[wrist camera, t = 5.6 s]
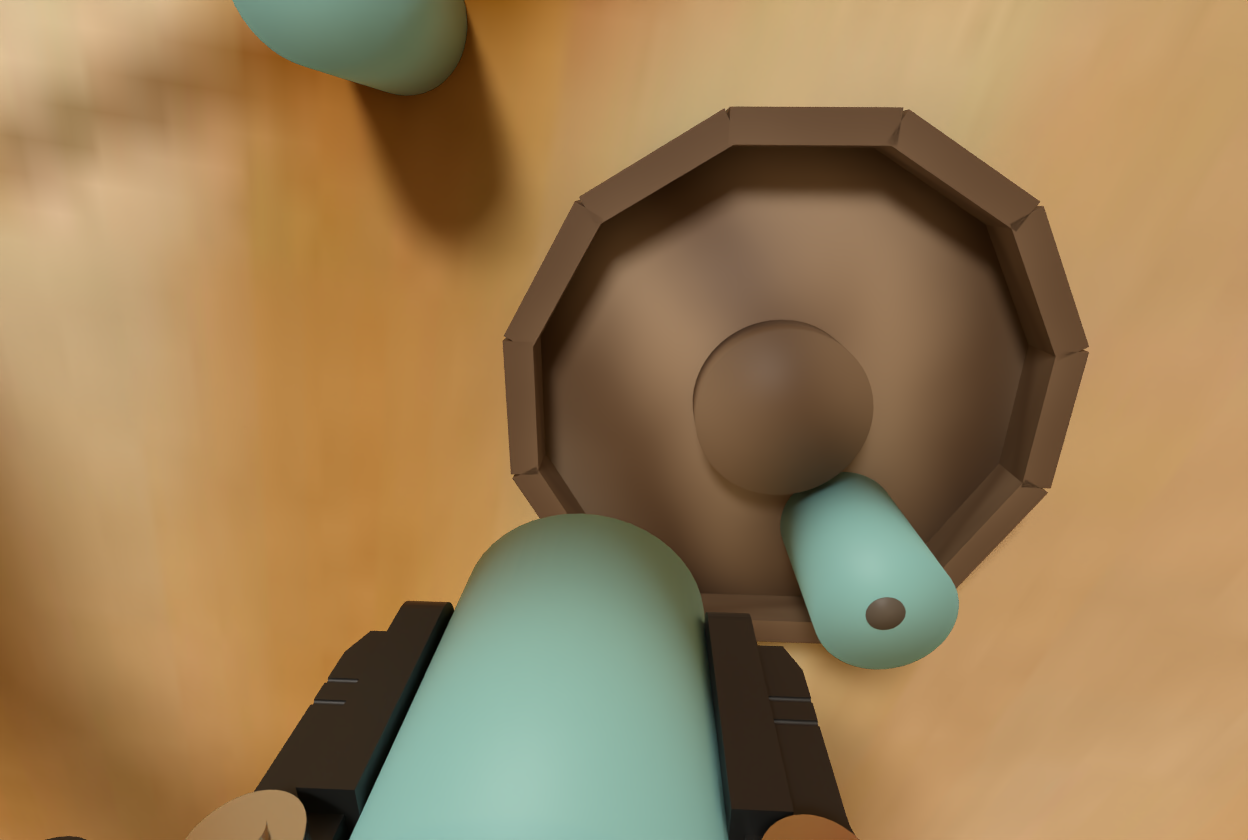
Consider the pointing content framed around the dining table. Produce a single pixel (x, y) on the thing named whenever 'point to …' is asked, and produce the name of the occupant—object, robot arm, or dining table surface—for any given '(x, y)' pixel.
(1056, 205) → the dining table surface
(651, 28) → the dining table surface
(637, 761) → the bead
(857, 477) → the bead
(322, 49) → the bead
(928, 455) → the ring tray
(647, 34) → the dining table surface
